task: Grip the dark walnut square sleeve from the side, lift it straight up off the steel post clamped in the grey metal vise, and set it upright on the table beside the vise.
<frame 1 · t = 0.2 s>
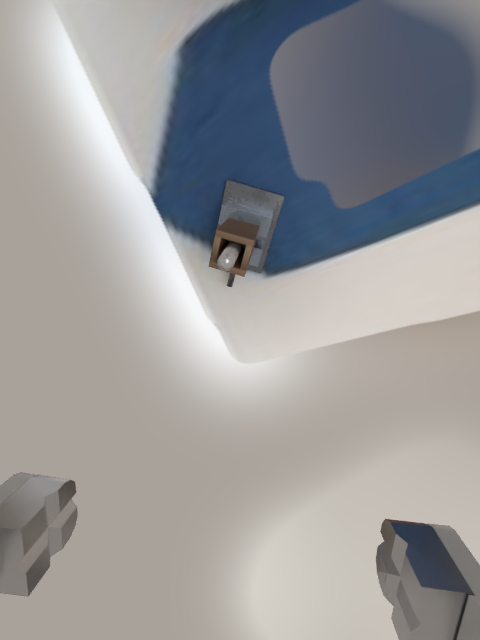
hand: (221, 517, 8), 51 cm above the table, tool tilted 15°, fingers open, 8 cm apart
walnut sleeve: (240, 237, 47), point 8 cm above the table, touching vise
vise: (246, 227, 54), on the table
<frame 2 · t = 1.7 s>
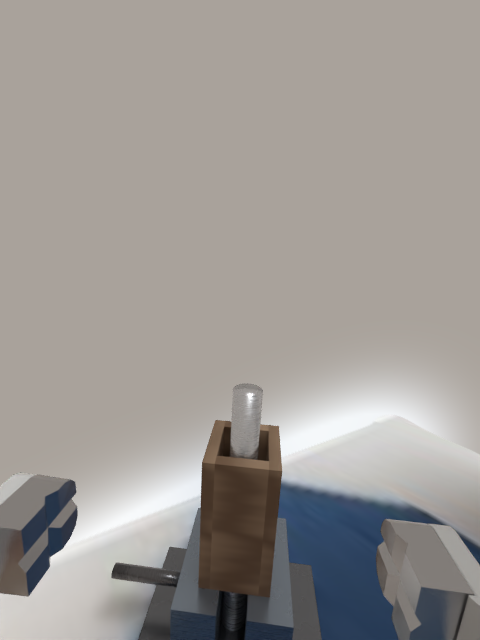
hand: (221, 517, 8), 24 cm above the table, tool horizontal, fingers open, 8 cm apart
walnut sleeve: (237, 556, 23), point 8 cm above the table, touching vise
vise: (232, 634, 25), on the table
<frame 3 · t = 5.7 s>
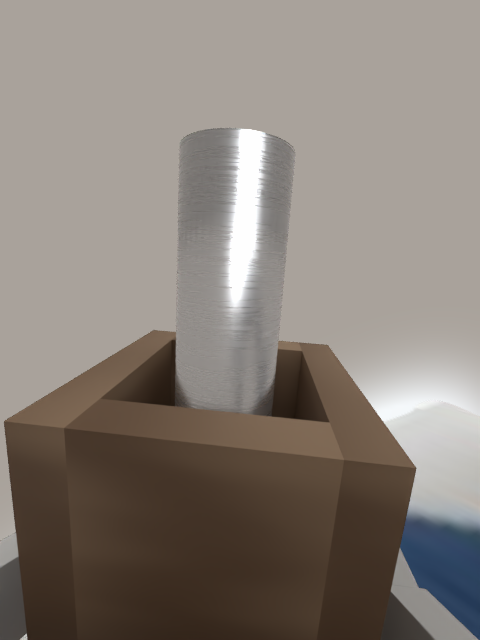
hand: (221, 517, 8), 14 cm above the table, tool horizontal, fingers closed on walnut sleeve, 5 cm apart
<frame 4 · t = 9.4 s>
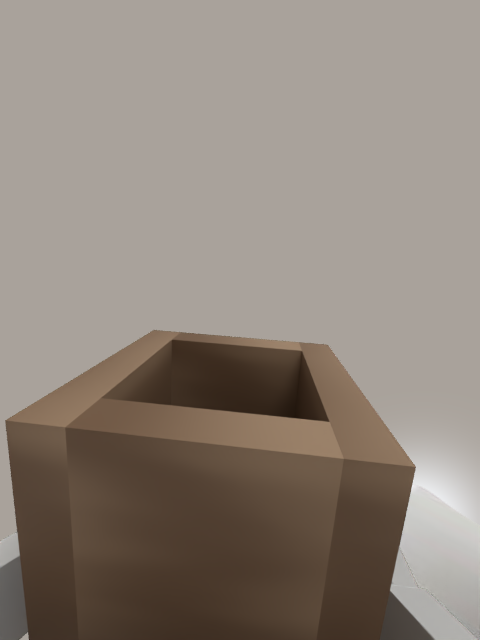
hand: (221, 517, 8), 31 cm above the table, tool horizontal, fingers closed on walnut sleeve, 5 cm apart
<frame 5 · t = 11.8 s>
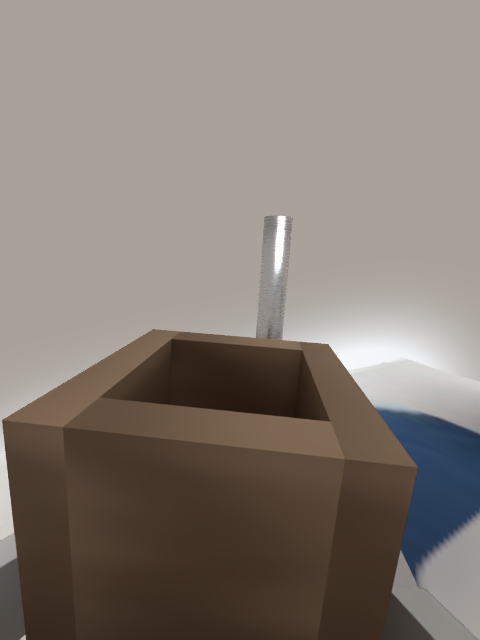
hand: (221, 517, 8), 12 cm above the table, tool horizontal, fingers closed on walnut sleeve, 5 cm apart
vise: (257, 483, 25), on the table
when the fingers open (7 cm above the table, at t = 13.4 s): walnut sleeve drops 1 cm, on the table.
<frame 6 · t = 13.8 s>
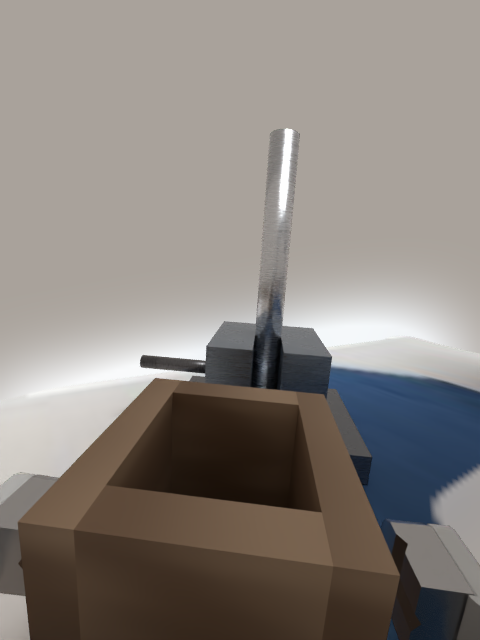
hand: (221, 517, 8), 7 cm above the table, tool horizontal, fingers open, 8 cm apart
vise: (260, 429, 24), on the table
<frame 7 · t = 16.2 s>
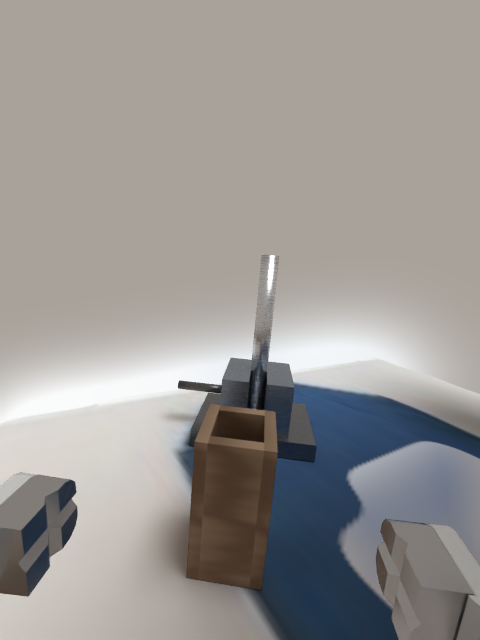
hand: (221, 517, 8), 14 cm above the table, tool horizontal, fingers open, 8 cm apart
walnut sleeve: (228, 548, 22), on the table
vise: (253, 429, 38), on the table
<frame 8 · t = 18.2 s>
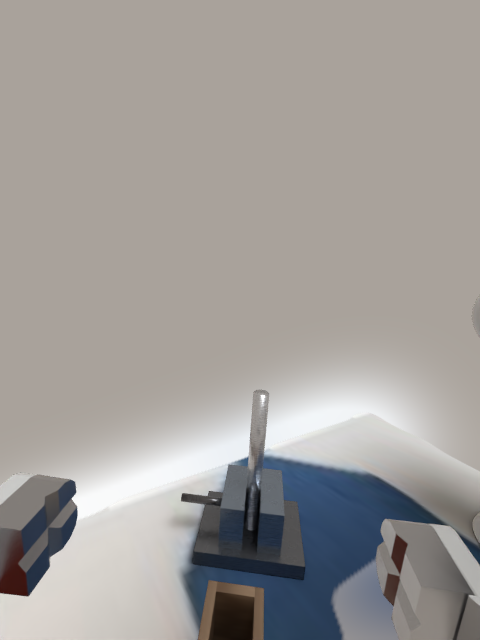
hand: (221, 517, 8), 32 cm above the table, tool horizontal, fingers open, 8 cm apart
vise: (249, 535, 42), on the table
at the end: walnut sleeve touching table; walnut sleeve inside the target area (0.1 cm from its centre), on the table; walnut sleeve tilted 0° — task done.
